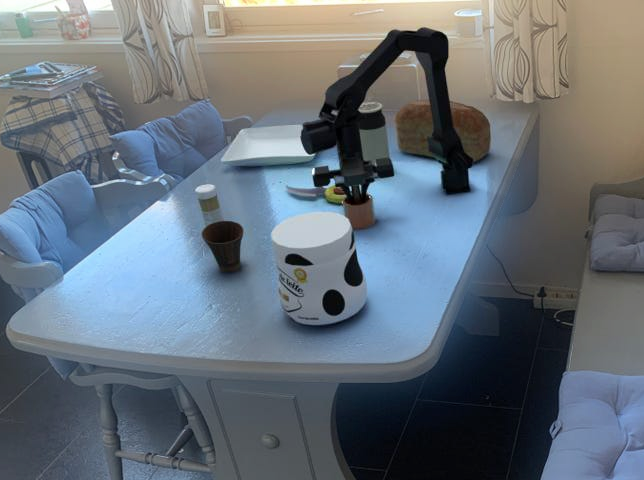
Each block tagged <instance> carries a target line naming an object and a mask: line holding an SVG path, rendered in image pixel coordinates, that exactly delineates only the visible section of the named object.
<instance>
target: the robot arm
mask: <svg viewBox="0 0 644 480" xmlns="http://www.w3.org/2000/svg"><path fill="white" fill-rule="evenodd" d="M449 42H450V41H449V38H448V36H447V34H445V33H444V32H443V31H440V30H437V29H432V28H429V27H425V26H423V27H420V28H418V29H417V30H410V29H407V30H404V29H403V30H399V29H391V30H390V31H388V33H387V34H386V36H385V38H384V39H382V40H381V42H380V43H379V44H378V45H377V46H376V47H375V49H373V50H372V51H371V53H370V54H368V56H367V57H366V58H365V59H364V60H363V61H362V62H361V63H360V64H359V65H358V66H357V67H356V68H355V69H354V70H353V71H352V72H351V73H349V74H348V75H345V76H343V77H340V78H339V79H337V80H336V81H335V82H334V83H332V84H331V85H329V86H328V87H327V89H326V91H325V93H324V100H323V103H322V105H321V107H320V111H319V112H318V115H317V116H318V119H316V120H313V121H306V122H302V124H301V125H302V126H303V129H302V130H301V136H300V138H301V142H302V145H303V148H304V150H305V151H306V153H307V154H308V155H312V154H315V153H316V154H318V153H323V152H326V151H328V150H332V149H334V148H335V146H336V153H337V159H338V167H339V168H338V169H331V170H330V167H329V165H323V166H315V167H312V169H311V176H312V182H313V186H314V187H313V188H317V187H329V185H330V184H331V181H332V180H333V182H334V185H335V187H340V188H341V189H342V190H343V191H344V193H345V194H346V196H347V198H348V200H349V202H350V203H351V205H354V203H353V198H352V194H351V191H352V190H351V186H352V185H359V186H360V191H361V200H362V204H363V203H365V198H366V193H368V189H369V187H370V185H371V184H373V183H375V181H376V179H375V177H374V176H373V175H374V173H377V175H378V176H379V177H378V178H380V179H388V178H393V177H395V169H394V164H393V161H392V159H391V157H390V158H381V159H375V165H372V163H371V160H369V161H365V160H364V159H363V152H362V144H361V138H360V131H359V123H358V122H359V121H363V120H366V119H367V117H366V116H364V115H363V114H362V113H361V112H360V111H359V110H358V109H359V107H360V106H361V104H362V103H365V99H366V97H367V94H368V91H369V90H370V88H371V86H372V85H373V84H375V82H376V81H378V80H379V78H380V77H381V76H382V75H383V74H384V73H385V72H386V71H387V70H388V69H389V68H390V66H391V65H393V63H394V62H395V61H396V60H397V59H399V57H400V56H401V55H402V54H403V53H404V52H414V54H415V56H416V60H417V61H418V63H419V65H420V66H421V67H422V69H423V72H424V76H425V77H424V78H425V84H426V89H427V95H428V100H429V102H430V108H431V114H432V120H433V126H434V130H433V133H432V136H428V137H427V141H428V144H429V152H431V153H432V156H433V157H432V158H435V159H436V161H437V163H438V164H440V165H441V170H440V184H441V188H442V190H443V191H444V193H445V194H446V195H451V194H457V193H459V194H460V193H466V192H471V191H472V188H471V186H470V177H469V176H470V175H469V173H470V172H469V169H472V167H473V164H474V162H473V158H471V157H470V156H469V155H467V154H466V153H465V152H464V148H463V145H462V142H461V139H460V137H459V135H458V134H457V132H456V130H455V128H454V126H453V120H452V113H451V107H450V101H451V100H450V94H449V93H450V92H449V87H448V81H447V75H446V66H447V63H448V60H449V56H450V54H449V53H450V51H449V49H450V47H449V46H450V44H449ZM333 112H336V114H335V113H333Z"/></svg>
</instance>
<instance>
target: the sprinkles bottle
mask: <svg viewBox="0 0 644 480" xmlns="http://www.w3.org/2000/svg"><path fill="white" fill-rule="evenodd" d="M194 191H195V195H196V198H197V200H198V204H199V206H200V210H201V214H202V218H203V221H204V225H205V227H207V226H208V225H210V224H212V223H215V222H219V221H225V219H224V215H223V212H222V209H221V206H220V202H219V199H218V191H217V189H216V186H215V185H214V184H208V183H207V184H202V185H199V186H198V187H196V188H195V190H194Z"/></svg>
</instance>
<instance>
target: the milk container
mask: <svg viewBox="0 0 644 480" xmlns="http://www.w3.org/2000/svg"><path fill="white" fill-rule="evenodd" d="M270 239H271V246H272V252H273V258H274V262H275V266H276V269H277V273H278V285H277V286H278V287H277V291H278V293H277V294H278V299H279V302H280V306H281V308H282V309H283V312H284V314H285V315H286V316H287V317H288V318H289V319H290V320H291V321H293V322H294V323H297V324H300V325H303V326H309V327H318V328H319V327H324V326H325V327H326V326H334V325H336V324H339V323H342V322H346V321H347V320H349V319H351V318H352V317H354V316H355V315H357V314H358V313H359V312H360V311H361V310H362V309H363V307H365V306H364V305H365V303H366V301H367V295H368V286H367V279H366V277H365V274H364V272H363V269H362V268H361V265H360V263H359V259H358V252H357V243H356V240H355V239H356V238H355V234H354V229H353V228H352V227H351V224H350V222H349V219H347V218H346V217H345V215H344V214H341V213H336V212H334V211H333V212H332V211H312V212H311V211H310V212H305V213H301V214H297V215H293V216H291V217H289V218H286V219H283V220H282V221H281V222H280V223H278V224H277V225H275V226H274V227H273V229H272V231H271V233H270Z"/></svg>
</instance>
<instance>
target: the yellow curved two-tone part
mask: <svg viewBox="0 0 644 480" xmlns="http://www.w3.org/2000/svg"><path fill="white" fill-rule="evenodd" d="M284 188H285V189H286V190H287V191H288V192H289V193H291V194H294V195H297V196H302V197H317V195H320V194H322V195H323V194H324V196H325V199H326V200H327V201H328V202H331V203H337V204H343V203H342V200H343V198H345V197H346V194H345V193H344V191H343V190H342V189H341V188H340V187H335V184H334V185H331V186H327V187H325V186H323V187H312V188H302V187H292V186H289V185H288V184H285V187H284ZM350 191H351V194H352V190H350ZM360 193H361V190H360ZM366 194H369V193H368V192H367V193H366Z"/></svg>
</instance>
